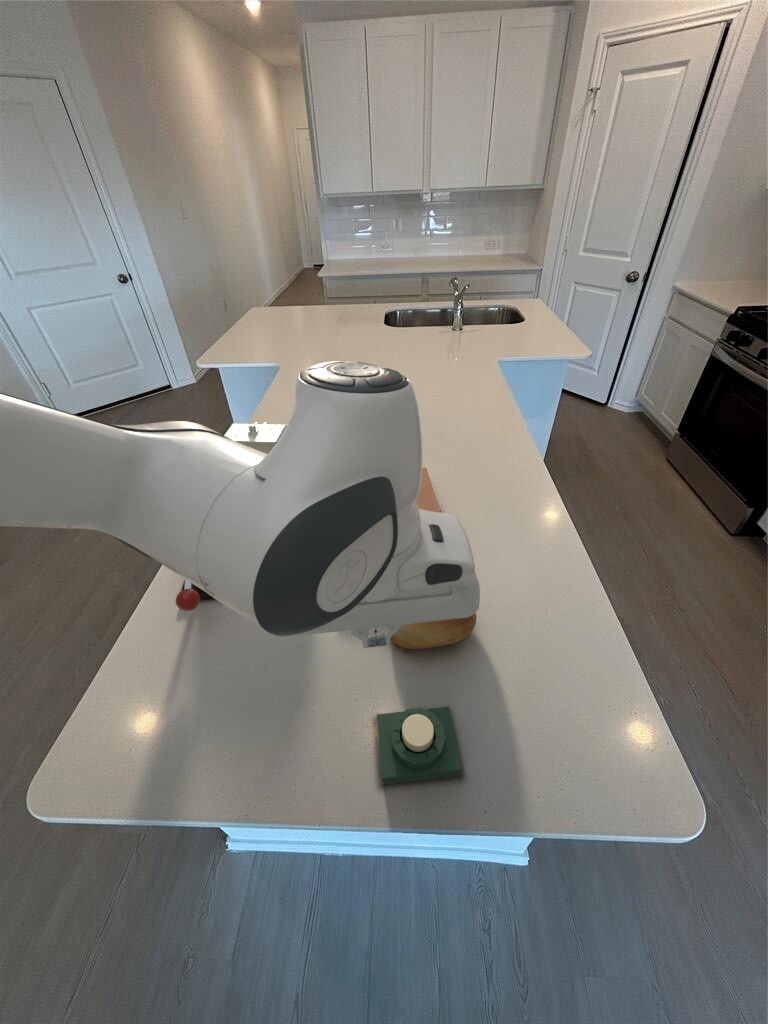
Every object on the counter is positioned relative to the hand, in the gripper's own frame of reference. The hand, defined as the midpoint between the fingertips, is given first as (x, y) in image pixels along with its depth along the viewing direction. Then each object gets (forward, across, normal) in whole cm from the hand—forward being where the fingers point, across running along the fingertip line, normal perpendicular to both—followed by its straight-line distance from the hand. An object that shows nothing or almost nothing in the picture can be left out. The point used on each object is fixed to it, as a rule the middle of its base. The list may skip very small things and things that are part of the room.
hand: (376, 641), depth 47 cm
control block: (+22, +4, -3) cm, 22 cm away
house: (+22, +5, +44) cm, 49 cm away
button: (+18, +4, -3) cm, 19 cm away
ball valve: (+22, -21, +58) cm, 65 cm away
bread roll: (+22, +9, +15) cm, 28 cm away
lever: (+14, -29, +27) cm, 43 cm away
